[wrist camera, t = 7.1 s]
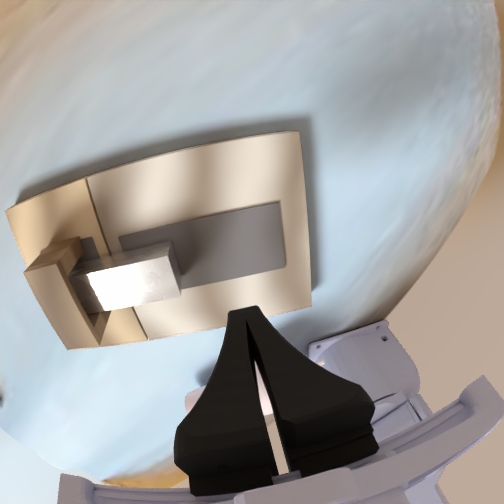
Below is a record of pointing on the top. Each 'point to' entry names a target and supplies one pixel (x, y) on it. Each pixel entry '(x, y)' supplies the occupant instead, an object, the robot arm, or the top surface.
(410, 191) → the top surface
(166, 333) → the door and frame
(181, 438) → the robot arm
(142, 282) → the brushed metal block
